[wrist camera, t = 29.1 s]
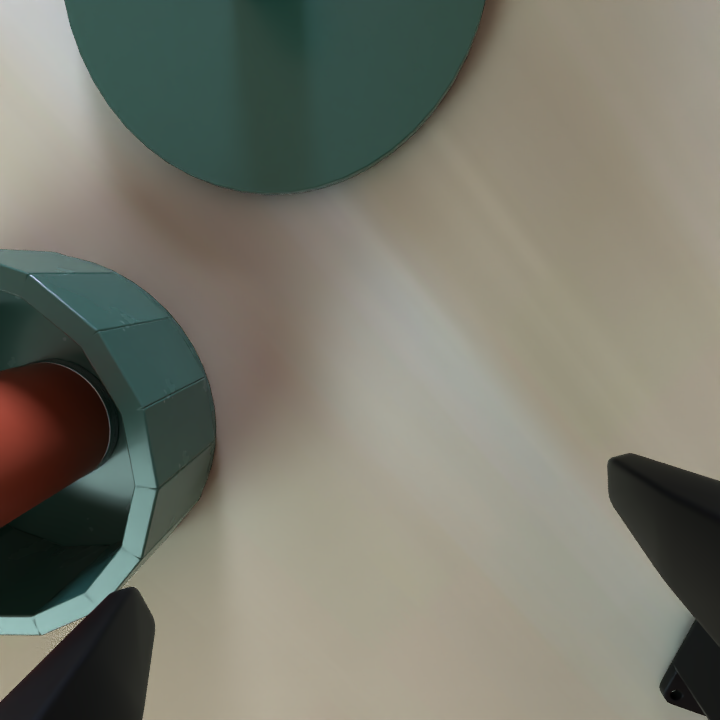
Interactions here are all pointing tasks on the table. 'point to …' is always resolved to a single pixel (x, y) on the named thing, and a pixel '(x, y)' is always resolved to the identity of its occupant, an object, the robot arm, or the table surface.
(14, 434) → the tin can
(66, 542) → the pot
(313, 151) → the pot lid
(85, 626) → the robot arm
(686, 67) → the table surface
